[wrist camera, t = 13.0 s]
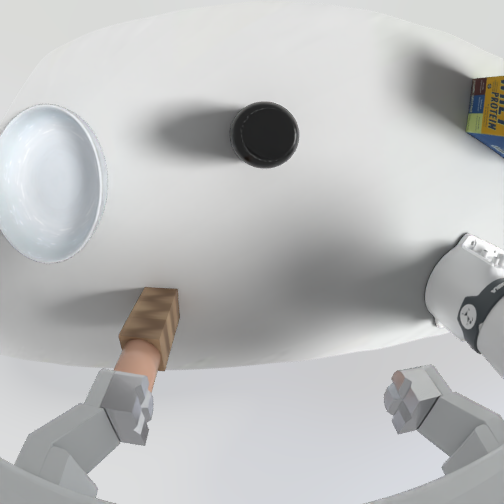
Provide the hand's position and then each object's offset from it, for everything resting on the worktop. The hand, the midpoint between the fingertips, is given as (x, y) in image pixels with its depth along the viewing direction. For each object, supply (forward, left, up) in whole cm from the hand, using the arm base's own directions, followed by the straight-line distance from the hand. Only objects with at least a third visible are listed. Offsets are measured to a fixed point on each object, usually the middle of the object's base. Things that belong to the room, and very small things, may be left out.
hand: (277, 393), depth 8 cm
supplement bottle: (-1, -8, -31) cm, 32 cm away
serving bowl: (+27, -3, -31) cm, 42 cm away
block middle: (+12, +16, -27) cm, 34 cm away
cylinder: (+12, +16, -19) cm, 28 cm away
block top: (+12, +16, -23) cm, 31 cm away
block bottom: (+12, +16, -31) cm, 37 cm away
